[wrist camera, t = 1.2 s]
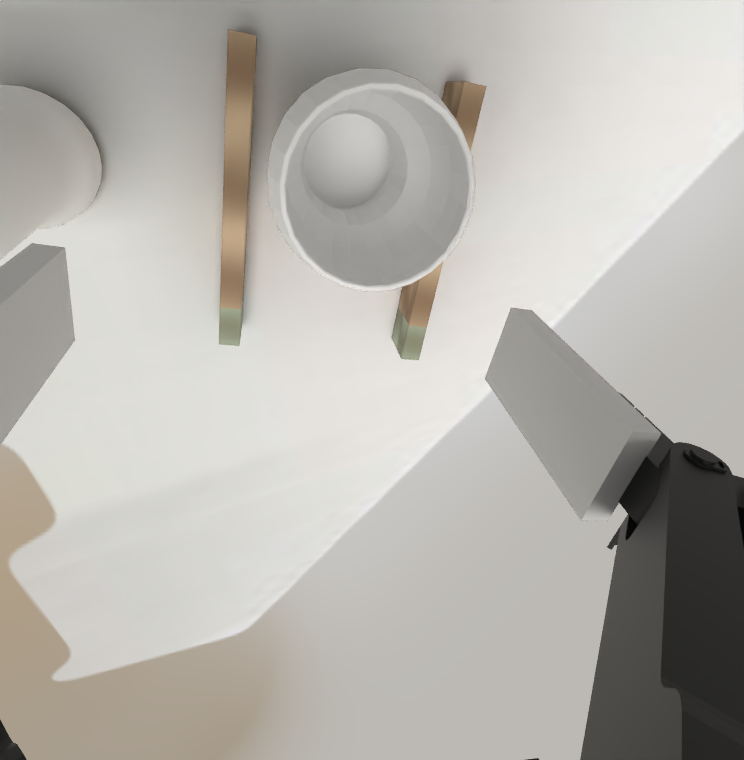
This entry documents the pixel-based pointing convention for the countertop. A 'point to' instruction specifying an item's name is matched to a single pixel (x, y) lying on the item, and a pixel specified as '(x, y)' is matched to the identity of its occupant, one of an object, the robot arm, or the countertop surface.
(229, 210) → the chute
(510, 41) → the countertop surface
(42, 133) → the bottle
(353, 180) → the cup
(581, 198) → the countertop surface
